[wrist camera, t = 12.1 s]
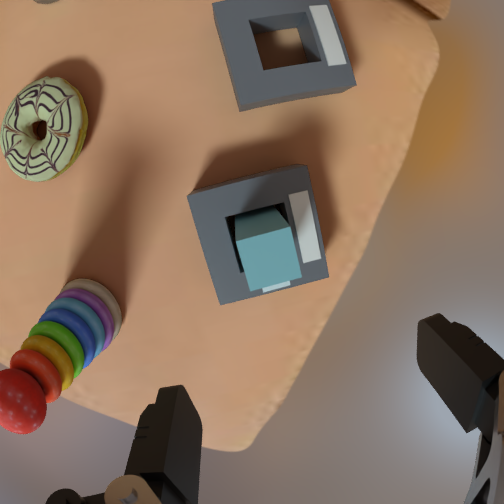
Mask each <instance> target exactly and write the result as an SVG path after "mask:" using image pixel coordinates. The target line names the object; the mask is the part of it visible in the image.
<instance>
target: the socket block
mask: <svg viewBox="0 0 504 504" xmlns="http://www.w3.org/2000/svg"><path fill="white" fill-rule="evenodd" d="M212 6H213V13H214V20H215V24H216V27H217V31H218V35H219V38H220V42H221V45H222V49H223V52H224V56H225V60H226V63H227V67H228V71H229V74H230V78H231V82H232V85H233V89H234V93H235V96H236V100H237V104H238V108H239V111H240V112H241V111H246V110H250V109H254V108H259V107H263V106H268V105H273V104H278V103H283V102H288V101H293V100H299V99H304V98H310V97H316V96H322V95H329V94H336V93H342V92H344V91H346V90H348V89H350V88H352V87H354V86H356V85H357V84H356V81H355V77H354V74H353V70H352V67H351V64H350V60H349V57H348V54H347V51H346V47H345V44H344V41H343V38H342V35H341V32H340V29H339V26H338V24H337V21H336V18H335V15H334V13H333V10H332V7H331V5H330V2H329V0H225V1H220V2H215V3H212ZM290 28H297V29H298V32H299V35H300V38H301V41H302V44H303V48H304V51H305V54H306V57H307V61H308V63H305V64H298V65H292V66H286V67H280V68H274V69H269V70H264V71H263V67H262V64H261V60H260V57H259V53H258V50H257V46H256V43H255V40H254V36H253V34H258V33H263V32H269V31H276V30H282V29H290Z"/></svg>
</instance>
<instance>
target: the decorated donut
mask: <svg viewBox="0 0 504 504" xmlns="http://www.w3.org/2000/svg"><path fill="white" fill-rule="evenodd" d="M42 120H45V121H46V122H47V135H46V137H45V139H44V140H41V139H40V138H39V136H38V135H37V126H38V124H39V123H40V122H41V121H42ZM87 126H88V114H87V110H86V107H85V104H84V100H83V97H82V96H81V94H80V93H79V91H78V90H77V89H76V88H75V87H73V86H72V85H71V84H69V82H68V81H66V80H65V79H62V78H59V77H54V78H49V77H48V76H46V77H44V78H41V79H40V80H37V81H34V82H32V83H31V84H29V85H27V86H26V87H25V88H23V89H22V90H21V91H20V92H19V93H18V94H17V96H16V97H15V98H14V100H13V101H12V102H11V104H10V106H9V107H8V109H7V112H6V114H5V117H4V119H3V122H2V127H1V133H0V145H1V149H2V151H3V154H4V156H5V159H6V161H7V163H8V165H9V167H10V168H11V170H12V171H14V172H15V173H16V174H17V175H18V176H19V177H21V178H23V179H26V180H31V181H36V182H40V181H47V180H51V179H53V178H56V177H57V176H59V175H60V174H62V173H63V172H64V171H66V170H67V169H68V168H69V167H70V166H71V165H72V164H73V163H74V162H75V161H76V159H77V158H78V156H79V154H80V152H81V150H82V146H83V144H84V140H85V137H86V132H87Z"/></svg>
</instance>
